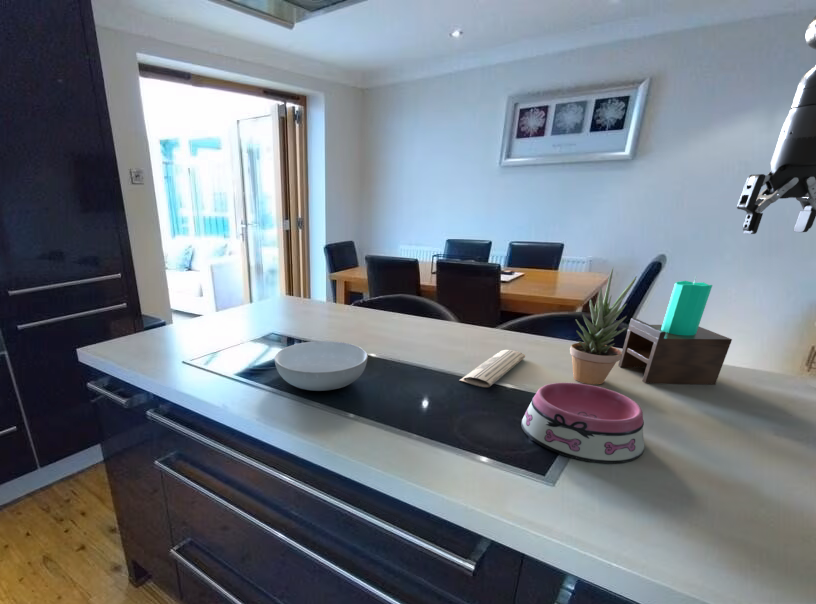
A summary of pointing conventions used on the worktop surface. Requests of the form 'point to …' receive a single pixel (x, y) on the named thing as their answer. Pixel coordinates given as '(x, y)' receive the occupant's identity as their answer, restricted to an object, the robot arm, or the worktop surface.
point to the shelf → (674, 354)
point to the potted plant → (598, 340)
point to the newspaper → (493, 368)
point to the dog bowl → (585, 423)
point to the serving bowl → (321, 364)
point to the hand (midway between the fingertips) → (774, 232)
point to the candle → (686, 307)
